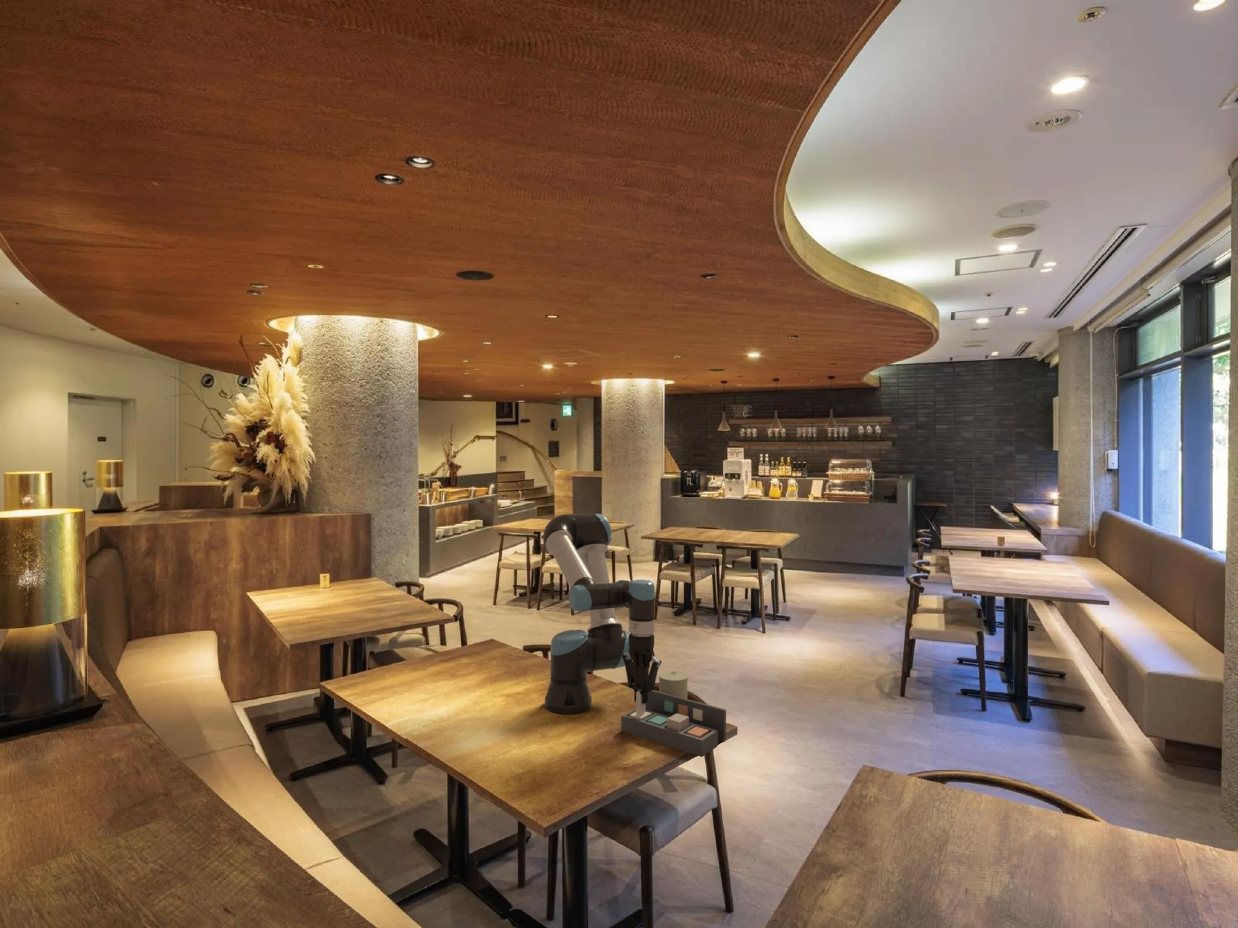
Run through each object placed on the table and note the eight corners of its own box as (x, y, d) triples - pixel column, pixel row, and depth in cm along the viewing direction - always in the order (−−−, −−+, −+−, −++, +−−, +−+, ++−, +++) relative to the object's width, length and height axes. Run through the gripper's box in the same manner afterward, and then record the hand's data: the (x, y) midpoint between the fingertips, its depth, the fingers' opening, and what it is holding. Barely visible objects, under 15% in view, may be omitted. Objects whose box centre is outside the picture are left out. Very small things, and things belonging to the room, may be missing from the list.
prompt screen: (644, 718, 210) (645, 689, 210) (647, 717, 211) (647, 688, 211) (723, 742, 194) (724, 710, 193) (725, 740, 195) (726, 709, 194)
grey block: (666, 732, 193) (667, 718, 193) (676, 726, 197) (676, 713, 197) (679, 736, 190) (679, 722, 190) (688, 730, 194) (689, 716, 194)
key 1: (629, 728, 201) (629, 714, 201) (639, 722, 205) (639, 709, 205) (641, 731, 198) (641, 718, 198) (651, 726, 202) (651, 713, 202)
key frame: (621, 730, 201) (621, 715, 201) (638, 721, 207) (638, 707, 207) (701, 756, 184) (702, 740, 184) (717, 746, 191) (717, 730, 191)
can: (687, 707, 220) (688, 670, 220) (687, 718, 211) (688, 679, 211) (658, 705, 221) (659, 668, 221) (657, 716, 212) (658, 678, 212)
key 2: (647, 734, 197) (648, 720, 197) (657, 728, 201) (657, 715, 201) (659, 737, 194) (660, 723, 194) (669, 732, 198) (669, 718, 198)
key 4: (686, 746, 189) (686, 731, 189) (695, 740, 193) (695, 726, 193) (699, 750, 187) (699, 735, 186) (708, 744, 191) (708, 730, 190)
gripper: (616, 632, 202) (615, 711, 202) (652, 639, 194) (651, 722, 195) (631, 627, 208) (630, 704, 208) (667, 634, 200) (666, 714, 200)
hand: (640, 713), depth 201 cm, fingers closed
